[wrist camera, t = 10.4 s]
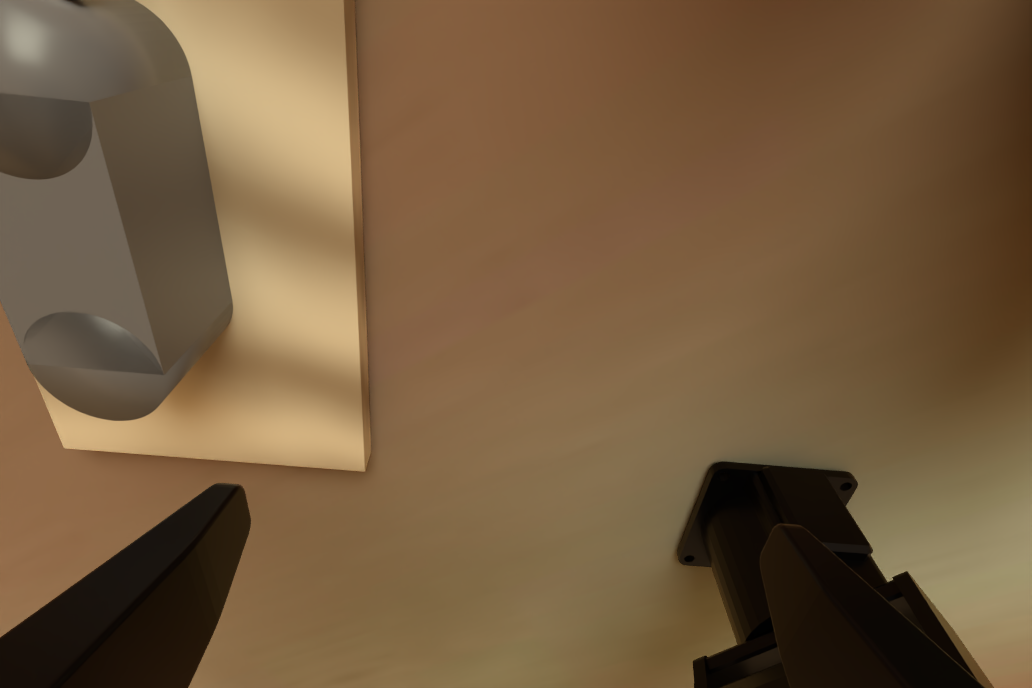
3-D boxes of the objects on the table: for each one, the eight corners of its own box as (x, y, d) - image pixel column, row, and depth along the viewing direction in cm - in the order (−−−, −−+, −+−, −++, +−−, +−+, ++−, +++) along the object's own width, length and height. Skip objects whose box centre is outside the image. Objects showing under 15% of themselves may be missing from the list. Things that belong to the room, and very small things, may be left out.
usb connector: (240, 345, 20) (178, 425, 16) (136, 336, 20) (48, 415, 16) (160, -98, 14) (24, -132, 10) (3, -119, 13) (-196, -162, 10)
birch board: (371, 451, 24) (365, 471, 23) (83, 428, 24) (64, 448, 23) (345, -266, 13) (330, -289, 12) (-217, -351, 12) (-285, -382, 11)
